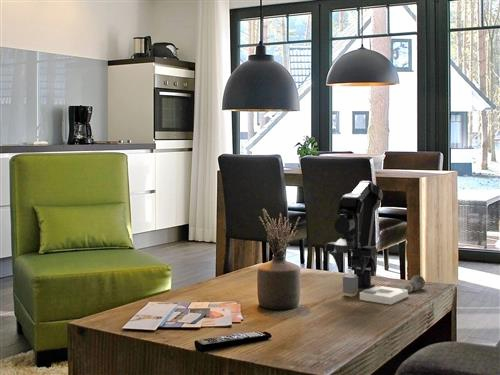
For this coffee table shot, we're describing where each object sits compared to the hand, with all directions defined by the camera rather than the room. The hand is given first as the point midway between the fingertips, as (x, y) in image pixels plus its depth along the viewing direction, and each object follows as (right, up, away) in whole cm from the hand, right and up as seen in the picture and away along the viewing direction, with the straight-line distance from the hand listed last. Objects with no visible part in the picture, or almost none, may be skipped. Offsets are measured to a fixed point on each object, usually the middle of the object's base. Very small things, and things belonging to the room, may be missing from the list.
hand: (350, 272), depth 255 cm
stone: (+26, -8, +8) cm, 28 cm away
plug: (0, -9, +1) cm, 9 cm away
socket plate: (+11, -9, -4) cm, 15 cm away
